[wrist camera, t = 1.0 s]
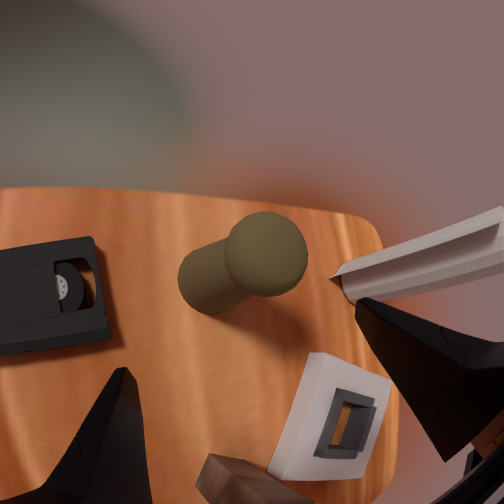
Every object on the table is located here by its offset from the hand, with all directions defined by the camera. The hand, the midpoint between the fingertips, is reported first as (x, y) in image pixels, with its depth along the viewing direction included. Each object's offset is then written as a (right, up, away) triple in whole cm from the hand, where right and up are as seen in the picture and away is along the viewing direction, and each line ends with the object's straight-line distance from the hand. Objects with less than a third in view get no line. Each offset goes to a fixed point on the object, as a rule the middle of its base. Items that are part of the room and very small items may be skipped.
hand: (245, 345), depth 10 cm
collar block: (+10, -17, +18) cm, 26 cm away
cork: (-4, +1, +15) cm, 16 cm away
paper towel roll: (+13, 0, +25) cm, 28 cm away
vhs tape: (-18, -1, +7) cm, 19 cm away
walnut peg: (-3, -17, +10) cm, 20 cm away
